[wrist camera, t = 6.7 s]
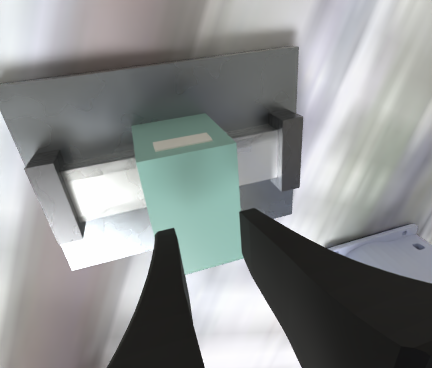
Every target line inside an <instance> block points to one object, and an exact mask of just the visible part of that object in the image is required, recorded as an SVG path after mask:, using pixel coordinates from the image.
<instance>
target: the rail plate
mask: <svg viewBox="0 0 432 368" xmlns="http://www.w3.org/2000/svg"><path fill="white" fill-rule="evenodd" d="M298 50H299V47H297V46H287V47H279V48H272V49H264V50H257V51H249V52H241V53H234V54H226V55H218V56H211V57H203V58H195V59H188V60H180V61H172V62H165V63H157V64H149V65H142V66H134V67H126V68H119V69H111V70H103V71H96V72H88V73H80V74H73V75H65V76H57V77H50V78H42V79H34V80H27V81H19V82H11V83H4V84H0V111H1V113H2V116H3V118H4V120H5V122H6V124H7V127H8V129H9V131H10V133H11V136H12V138H13V140H14V142H15V144H16V147H17V149H18V151H19V153H20V156H21V158H22V160H23V162H24V164H25V168H24V170H25V172H26V174H27V176H28V178H29V181H30V183H31V185H32V187H33V189H34V192H35V194H36V196H37V198H38V200H39V203H40V205H41V207H42V209H43V211H44V214H45V216H46V218H47V220H48V222H49V225H50V227H51V229H52V231H53V233H54V236H55V238H56V240H57V242H58V244H59V245H61V247H62V249H63V251H64V253H65V256H66V258H67V260H68V262H69V264H70V267H71V269H72V271H73V270H77V269H81V268H85V267H88V266H92V265H96V264H100V263H104V262H108V261H112V260H115V259H119V258H123V257H127V256H131V255H135V254H139V253H143V252H146V251H150V250H153V249H154V241H155V238H154V234H153V230H152V226H151V222H150V218H149V214H148V210H147V206H146V202H145V198H144V193H143V189H142V185H141V181H140V177H139V173H138V169H137V165H136V159H135V151H134V143H133V135H132V127H131V126H133V125H139V124H145V123H151V122H157V121H163V120H169V119H174V118H180V117H186V116H192V115H198V114H204V113H206V114H207V115H208V116H209V117H210V118H211V119H212V120H213V121H214V122H215V123H216V124H217V125H218V126H219V127H220V128H221V129H222V130H224V131H225V132H226V133H227V134H228V135H229V136H230V137H231V138H232V139H233V140H234V141H235V142H236V143H237V159H238V175H239V192H240V208H241V211H243V210H247V209H251V208H255V209H257V210H259V211H261V212H262V213H264V214H265V215H267V216H269V217H270V218H272V219H274V218H278V217H282V216H286V215H290V214H292V197H293V189H295V188H299V186H300V168H301V149H302V130H303V116H300V115H298V114H296V99H297V74H298Z"/></svg>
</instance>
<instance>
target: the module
mask: <svg viewBox="0 0 432 368" xmlns="http://www.w3.org/2000/svg"><path fill="white" fill-rule="evenodd" d="M131 127H132V135H133V143H134V151H135V159H136V165H137V169H138V173H139V177H140V181H141V185H142V189H143V193H144V198H145V202H146V206H147V210H148V214H149V218H150V222H151V226H152V230H153V234H154V238H155V234H156V233H157V232H158V231H162V230H166V229H170V228H174V229H175V232H176V235H177V238H178V243H179V248H180V253H181V258H182V263H183V268H184V273H185V275H186V274H190V273H193V272H197V271H200V270H204V269H208V268H211V267H215V266H218V265H222V264H225V263H229V262H232V261H236V260H239V259H243V258H244V257H243V255H242V249H241V234H240V218H239V211H241V208H240V192H239V175H238V159H237V143H236V142H235V141H234V140H233V139H232V138H231V137H230V136H229V135H228V134H227V133H226V132H225V131H224V130H222V129H221V128H220V127H219V126H218V125H217V124H216V123H215V122H214V121H213V120H212V119H211V118H210V117H209V116H208V115H207V114H206V113H204V114H198V115H192V116H186V117H180V118H174V119H169V120H163V121H157V122H151V123H145V124H139V125H133V126H131Z"/></svg>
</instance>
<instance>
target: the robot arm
mask: <svg viewBox="0 0 432 368" xmlns="http://www.w3.org/2000/svg"><path fill="white" fill-rule="evenodd" d="M239 218H240V234H241V249H242V255H243V257H244V260H245V262H246V264H247V267H248V269H249V271H250V273H251V276H252V277H253V279H254V281H255V283H256V284H257V286H258V288H259V289H260V291H261V293H262V294H263V296H264V298H265V300H266V301H267V303H268V305H269V306H270V308H271V310H272V311H273V313H274V315H275V316H276V318H277V320H278V321H279V323H280V325H281V326H282V328H283V330H284V332H285V334H286V336H287V337H288V339H289V342H290V344H291V346H292V348H293V350H294V352H295V354H296V356H297V359H298V361H299V363H300V365H301V367H302V368H432V245H431V244H430V243H428V242H427V241H426V240H424V239H423V238H421V237H420V236H418V235H417V230H418V226H417V225H415V224H409V225H406V226H402V227H399V228H396V229H392V230H389V231H385V232H382V233H379V234H375V235H372V236H368V237H365V238H361V239H358V240H355V241H351V242H348V243H344V244H341V245H338V246H334V247H331V248H328V249H327V248H325V247H323V246H321V245H319V244H317V243H315V242H313V241H311V240H309V239H307V238H305V237H303V236H301V235H299V234H298V233H296V232H294V231H292V230H290V229H289V228H287V227H285V226H284V225H282V224H280V223H279V222H277V221H275V220H274V219H272V218H270V217H269V216H267V215H265V214H264V213H262V212H261V211H259V210H257V209H255V208H251V209H247V210H243V211H239ZM107 368H205V367H204V363H203V360H202V356H201V352H200V348H199V345H198V341H197V337H196V333H195V330H194V326H193V320H192V313H191V306H190V300H189V294H188V288H187V283H186V278H185V273H184V268H183V263H182V258H181V253H180V248H179V243H178V238H177V235H176V232H175V229H174V228H170V229H166V230H162V231H158V232H157V233H156V234H155V241H154V249H153V255H152V260H151V264H150V267H149V271H148V275H147V279H146V282H145V285H144V288H143V290H142V293H141V296H140V299H139V302H138V304H137V307H136V309H135V312H134V314H133V317H132V319H131V321H130V323H129V326H128V328H127V330H126V332H125V334H124V336H123V338H122V340H121V342H120V344H119V346H118V348H117V350H116V352H115V354H114V356H113V358H112V359H111V361H110V363H109V365H108V366H107Z"/></svg>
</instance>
